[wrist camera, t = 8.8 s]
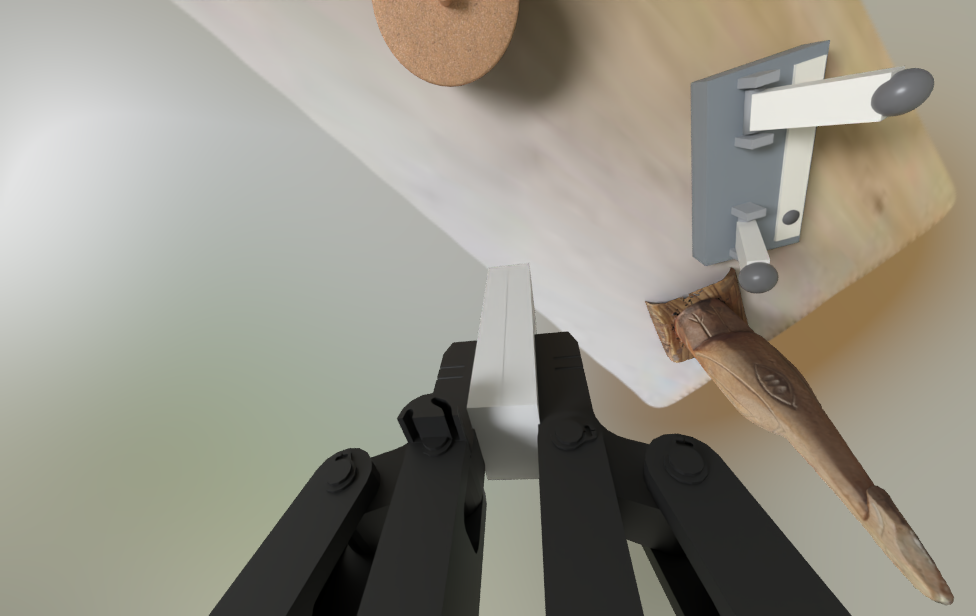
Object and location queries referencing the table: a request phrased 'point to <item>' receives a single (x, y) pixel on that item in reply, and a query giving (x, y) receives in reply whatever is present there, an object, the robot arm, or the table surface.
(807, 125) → the marked lever
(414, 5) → the lidded jar
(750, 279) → the lever
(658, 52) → the table surface
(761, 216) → the switch unit
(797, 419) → the bird sculpture
